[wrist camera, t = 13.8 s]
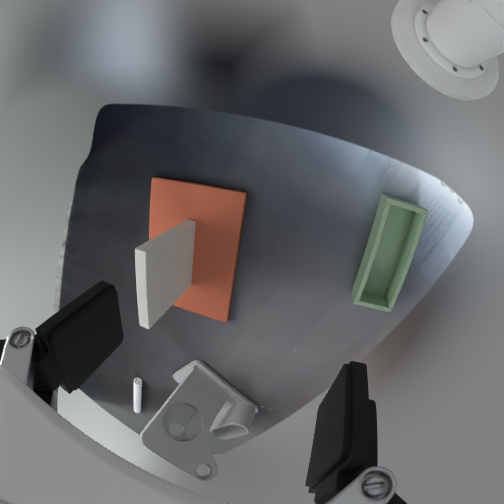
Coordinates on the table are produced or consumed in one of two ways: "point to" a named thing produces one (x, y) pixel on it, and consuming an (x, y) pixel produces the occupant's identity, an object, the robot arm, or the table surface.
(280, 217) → the table surface
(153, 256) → the board
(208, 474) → the phone holder
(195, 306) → the mat
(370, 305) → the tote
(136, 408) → the marker
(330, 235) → the table surface
